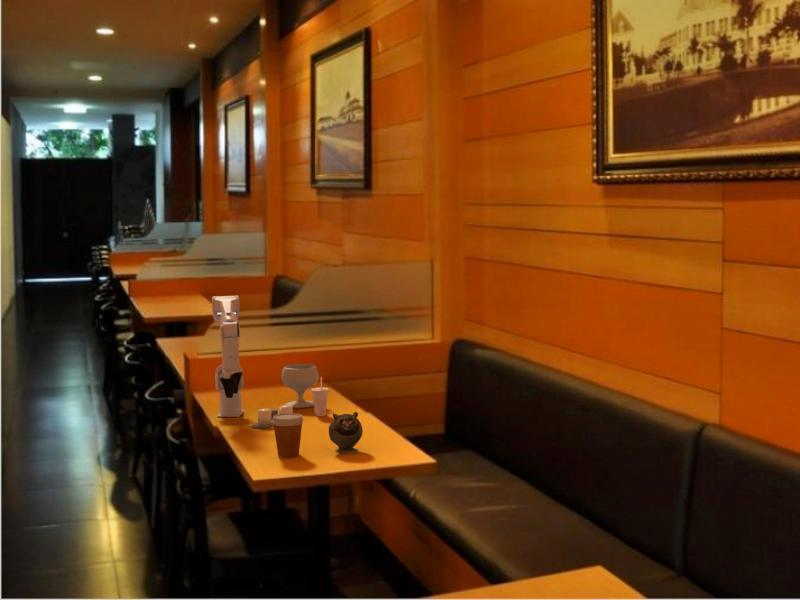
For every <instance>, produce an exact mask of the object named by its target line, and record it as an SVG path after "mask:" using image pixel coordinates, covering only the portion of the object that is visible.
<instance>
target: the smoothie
mask: <svg viewBox="0 0 800 600" xmlns="http://www.w3.org/2000/svg"><path fill="white" fill-rule="evenodd" d="M319 378H320V387H313V388H310V393H311V394H312V395H311V396H312V401H313V403H314V406H313V408H314V409H313V410H314V415H316V416H315V417H317V416H323V417H326V416H327V406H328V398H329V397H328V396H329V395H328V394H329V392H330V389H329V388H328V387H323V376H320V377H319ZM325 415H326V416H325Z"/></svg>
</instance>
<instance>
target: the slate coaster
mask: <svg viewBox="0 0 800 600" xmlns="http://www.w3.org/2000/svg"><path fill="white" fill-rule="evenodd" d="M251 427H252V428H253V427H255V428H254V429H257V428H268V429H272V428H271V427H274V424H273V422H272V424H271V425H268V426H260V425H258V421H257V422H254V423H252V424H251Z"/></svg>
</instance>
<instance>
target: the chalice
mask: <svg viewBox="0 0 800 600" xmlns="http://www.w3.org/2000/svg"><path fill="white" fill-rule="evenodd" d="M281 371H282V372H281V382H282V384H283V385H284V386H286V387H287V388H289V389H290V390H293V391H294V392H295V393H296V394H297V396H298V397H297V399H296V400H293V401H289V402H286V403H285V404H284V405H291V406H293V409H298V408H299V409H301V408H302V409H303V408H305V407H306V408H311V407H314V403H313V400H312V401H311V400H305V399H304V394H305V392H306V391H307V390H309V389H311V387H313V386H315V385H316V384H317V383H318V381H319V378H320V377H319V376H320V375H319V371H318V368H317V366H316V365H314V364H312V363H293V364H287V365H285V366H284V367H283V369H282V370H281Z"/></svg>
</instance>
